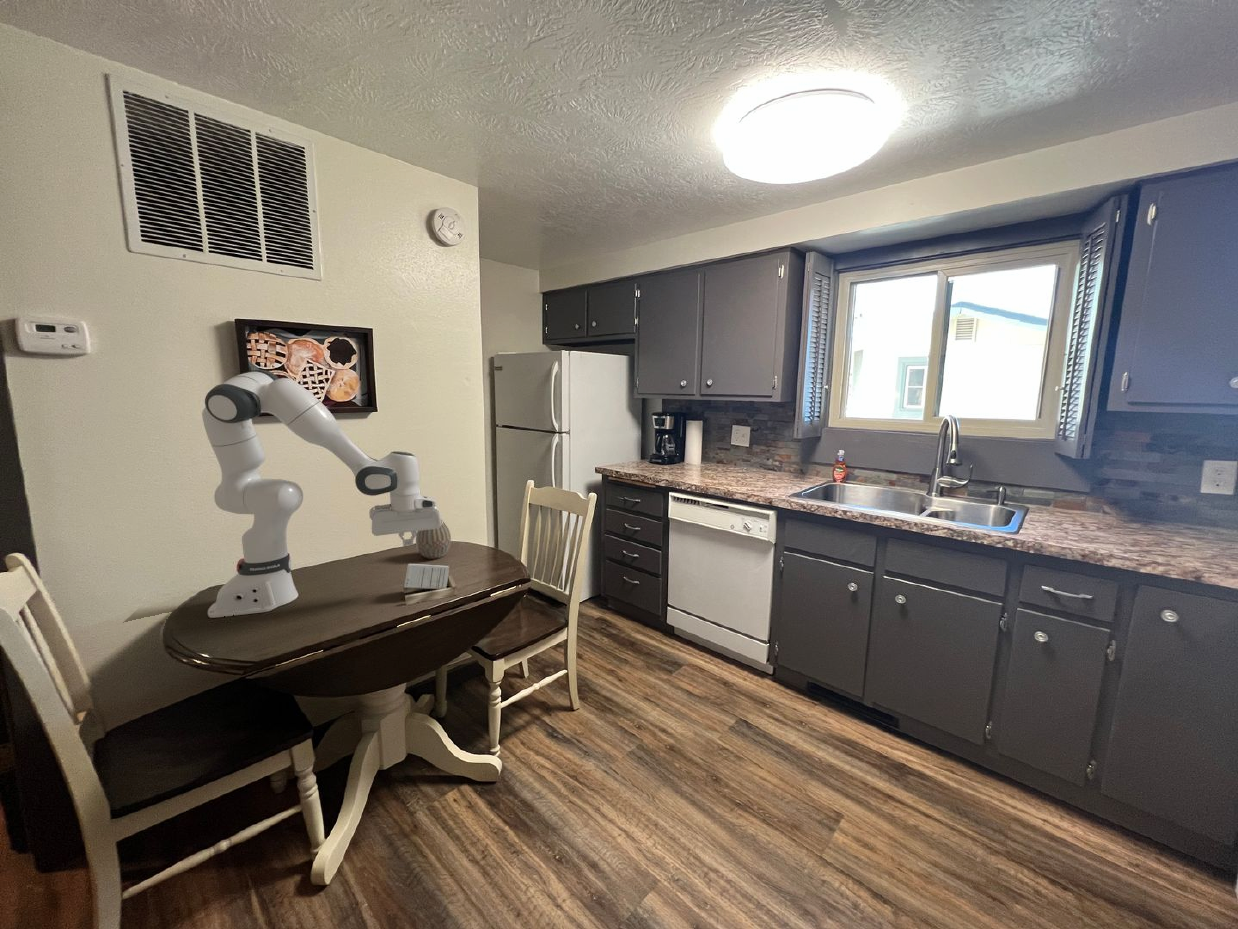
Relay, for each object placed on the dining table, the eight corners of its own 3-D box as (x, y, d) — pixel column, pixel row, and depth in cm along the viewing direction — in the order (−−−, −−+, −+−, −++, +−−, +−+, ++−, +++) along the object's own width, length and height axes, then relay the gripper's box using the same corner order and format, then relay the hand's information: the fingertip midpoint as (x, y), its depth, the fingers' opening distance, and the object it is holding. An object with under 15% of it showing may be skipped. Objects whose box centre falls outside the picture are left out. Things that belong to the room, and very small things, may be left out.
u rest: (406, 604, 150) (405, 595, 150) (403, 591, 160) (402, 583, 160) (457, 595, 157) (456, 586, 156) (451, 583, 167) (451, 575, 166)
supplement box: (408, 563, 160) (448, 565, 165) (404, 586, 159) (445, 588, 163) (407, 563, 154) (449, 566, 158) (403, 587, 152) (446, 590, 157)
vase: (456, 551, 202) (453, 509, 200) (445, 561, 189) (442, 517, 187) (424, 551, 202) (421, 510, 199) (411, 562, 189) (408, 518, 186)
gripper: (369, 508, 146) (372, 552, 148) (441, 501, 156) (443, 543, 158) (368, 504, 151) (371, 547, 153) (437, 497, 162) (439, 538, 163)
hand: (408, 545), depth 156 cm, fingers closed
